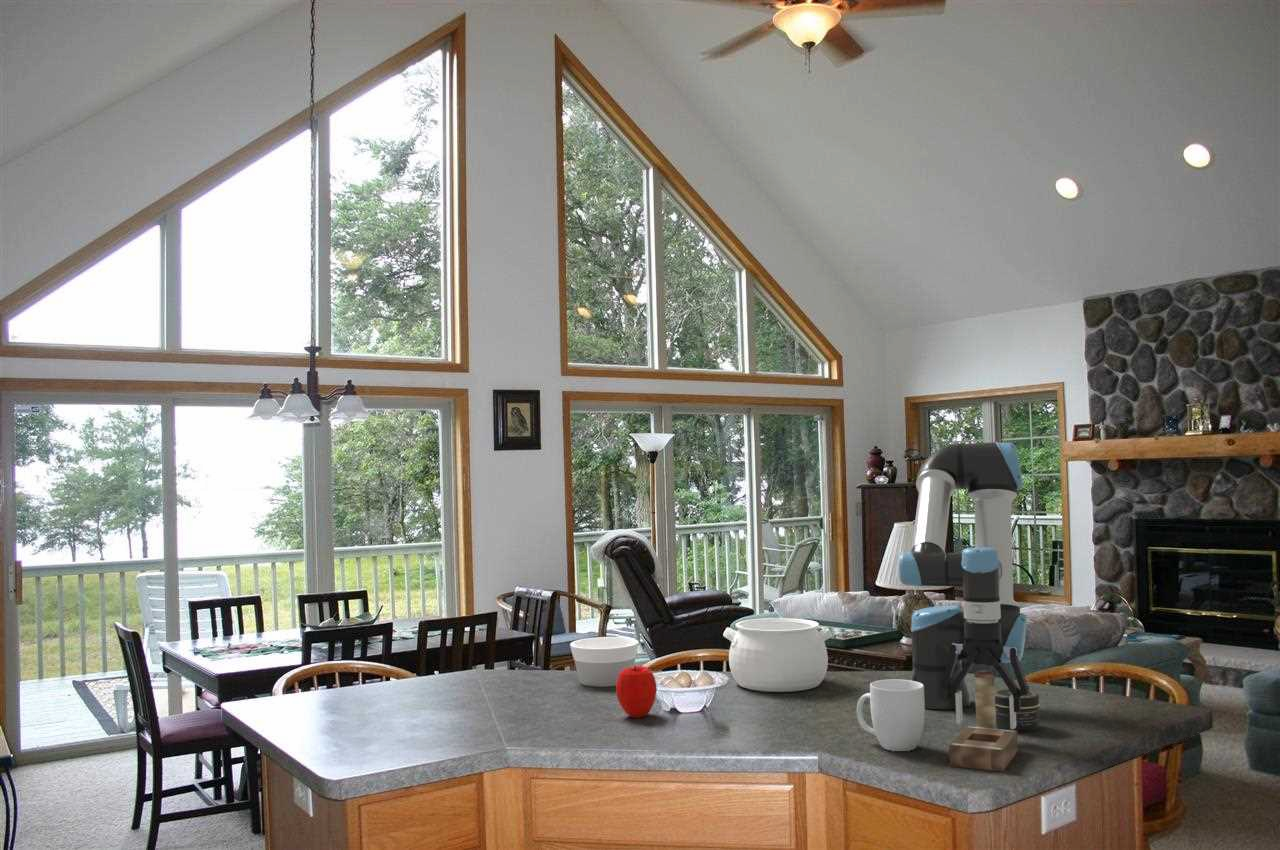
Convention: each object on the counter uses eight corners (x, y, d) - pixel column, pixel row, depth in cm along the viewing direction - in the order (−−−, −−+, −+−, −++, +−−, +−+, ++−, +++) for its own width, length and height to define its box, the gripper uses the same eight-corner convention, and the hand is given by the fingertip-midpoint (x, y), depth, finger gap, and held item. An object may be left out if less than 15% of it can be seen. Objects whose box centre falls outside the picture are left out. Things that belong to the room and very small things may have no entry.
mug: (845, 746, 223) (843, 684, 224) (870, 735, 232) (868, 675, 232) (911, 758, 214) (909, 692, 214) (935, 746, 222) (933, 682, 223)
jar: (1050, 730, 232) (1048, 695, 232) (1010, 735, 229) (1009, 699, 229) (1021, 720, 242) (1020, 686, 242) (983, 724, 239) (981, 690, 239)
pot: (836, 675, 296) (834, 617, 297) (831, 696, 271) (829, 632, 271) (731, 673, 303) (729, 616, 304) (717, 693, 277) (715, 631, 278)
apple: (632, 709, 262) (631, 659, 263) (666, 714, 257) (664, 663, 257) (608, 717, 254) (607, 666, 255) (642, 722, 248) (640, 670, 249)
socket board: (949, 765, 208) (949, 744, 208) (967, 745, 222) (966, 725, 222) (1003, 771, 203) (1002, 749, 203) (1017, 750, 217) (1017, 730, 217)
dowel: (974, 740, 226) (972, 673, 226) (978, 735, 230) (976, 670, 230) (994, 742, 224) (992, 675, 224) (998, 737, 228) (996, 671, 228)
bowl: (569, 676, 305) (568, 638, 306) (636, 673, 307) (635, 635, 308) (572, 690, 286) (571, 650, 287) (643, 686, 288) (642, 646, 289)
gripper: (924, 620, 230) (927, 723, 229) (1036, 625, 219) (1040, 734, 218) (932, 615, 236) (936, 716, 236) (1041, 620, 225) (1045, 726, 225)
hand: (986, 725), depth 227 cm, fingers open, 10 cm apart
